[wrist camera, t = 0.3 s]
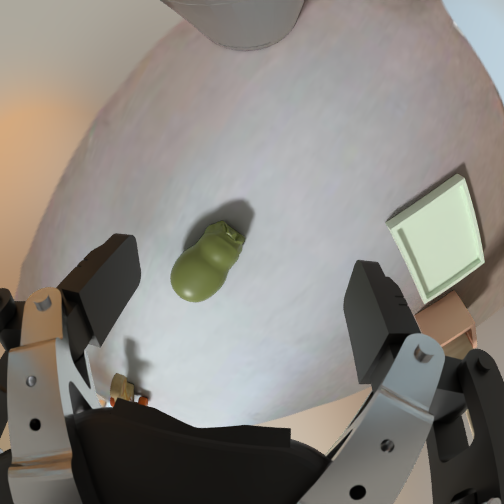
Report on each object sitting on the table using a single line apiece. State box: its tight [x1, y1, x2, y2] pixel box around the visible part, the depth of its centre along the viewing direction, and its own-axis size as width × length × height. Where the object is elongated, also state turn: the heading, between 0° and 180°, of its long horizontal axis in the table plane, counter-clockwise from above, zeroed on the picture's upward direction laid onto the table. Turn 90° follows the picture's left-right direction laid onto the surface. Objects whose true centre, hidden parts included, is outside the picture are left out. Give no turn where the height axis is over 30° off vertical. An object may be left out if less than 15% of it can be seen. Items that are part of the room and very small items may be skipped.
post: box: [442, 333, 474, 439], centre depth 26 cm, size 4×4×20 cm
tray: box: [385, 174, 485, 304], centre depth 28 cm, size 14×11×2 cm
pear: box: [170, 221, 245, 302], centre depth 30 cm, size 6×5×10 cm
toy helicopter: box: [110, 373, 148, 407], centre depth 44 cm, size 8×21×14 cm, turn 164°
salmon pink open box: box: [415, 290, 477, 349], centre depth 32 cm, size 7×7×7 cm
